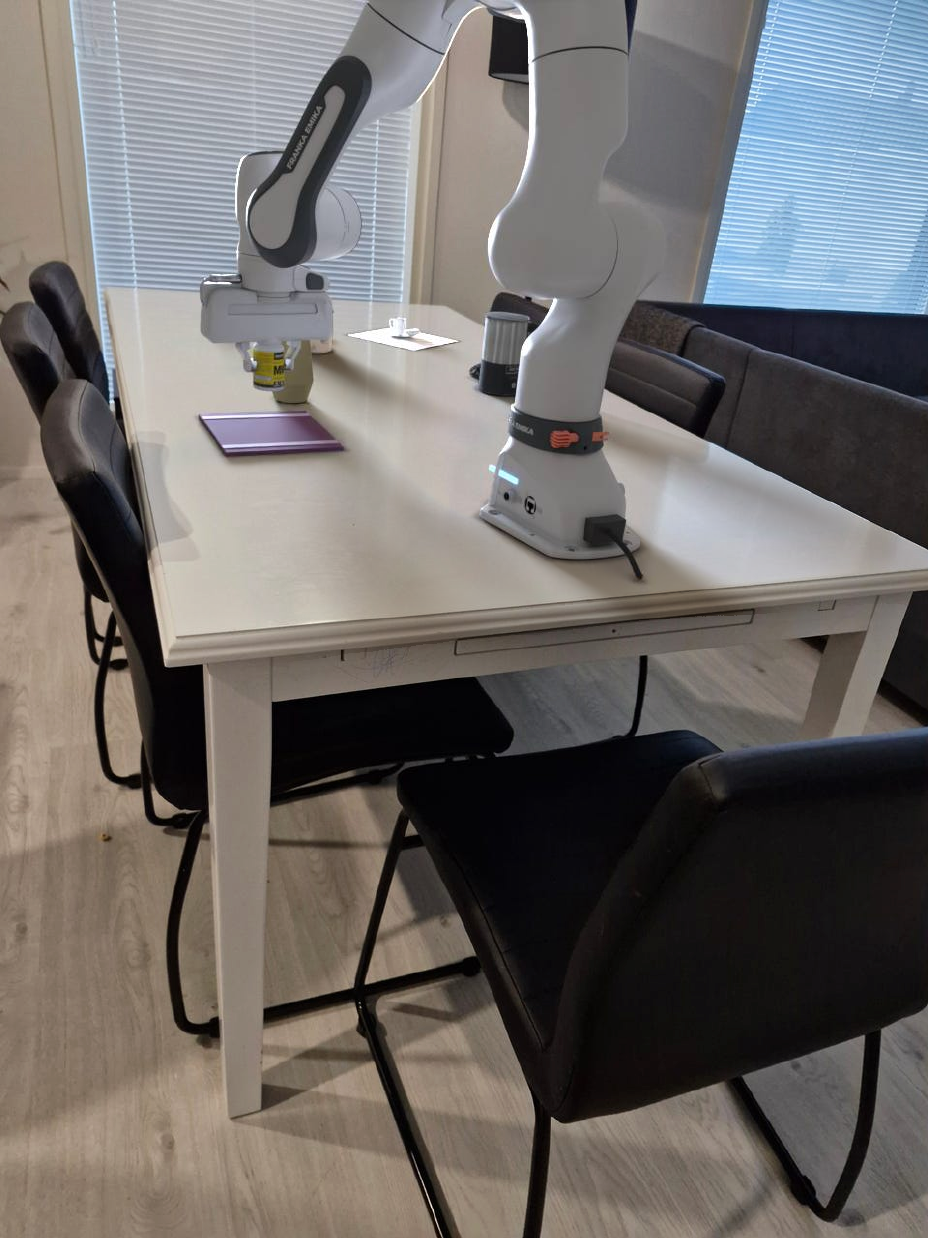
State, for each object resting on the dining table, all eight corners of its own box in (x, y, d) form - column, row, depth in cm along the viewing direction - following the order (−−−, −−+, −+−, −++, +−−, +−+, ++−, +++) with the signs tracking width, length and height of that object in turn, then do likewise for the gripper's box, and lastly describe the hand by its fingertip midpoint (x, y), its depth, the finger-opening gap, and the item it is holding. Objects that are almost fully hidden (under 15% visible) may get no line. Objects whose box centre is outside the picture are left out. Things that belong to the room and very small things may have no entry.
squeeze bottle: (258, 399, 156) (256, 292, 147) (286, 391, 162) (286, 289, 154) (295, 408, 153) (295, 300, 144) (322, 400, 159) (324, 296, 151)
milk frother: (504, 399, 173) (513, 321, 166) (441, 381, 181) (448, 306, 174) (542, 389, 183) (552, 316, 176) (481, 373, 191) (489, 302, 184)
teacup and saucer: (423, 336, 220) (425, 320, 219) (405, 340, 214) (406, 323, 212) (395, 330, 224) (396, 314, 222) (377, 333, 218) (377, 316, 216)
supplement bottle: (277, 393, 133) (277, 336, 129) (248, 389, 134) (247, 332, 130) (289, 386, 137) (289, 331, 133) (260, 382, 138) (260, 327, 134)
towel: (344, 450, 135) (344, 446, 135) (226, 456, 127) (226, 451, 127) (305, 413, 150) (305, 409, 150) (198, 417, 143) (198, 413, 142)
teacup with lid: (283, 346, 196) (283, 291, 190) (318, 343, 201) (319, 290, 196) (313, 358, 188) (314, 301, 183) (348, 355, 194) (350, 300, 188)
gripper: (207, 277, 120) (211, 379, 126) (339, 278, 131) (337, 371, 138) (190, 270, 124) (195, 368, 131) (320, 272, 135) (318, 362, 142)
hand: (269, 370), depth 134 cm, fingers closed on supplement bottle, 5 cm apart
